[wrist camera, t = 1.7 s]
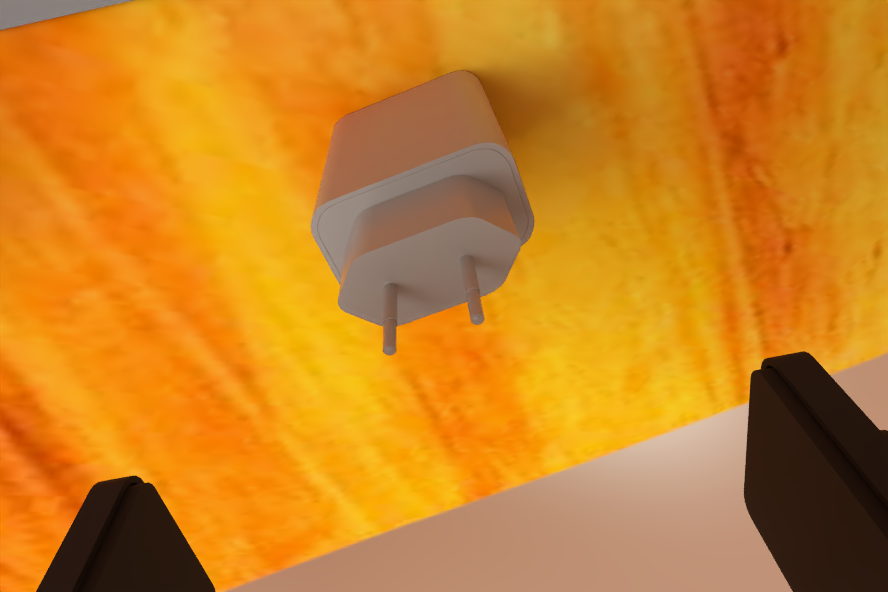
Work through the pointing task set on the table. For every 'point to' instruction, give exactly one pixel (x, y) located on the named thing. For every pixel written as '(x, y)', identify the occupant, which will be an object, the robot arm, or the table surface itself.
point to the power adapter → (420, 205)
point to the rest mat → (44, 10)
